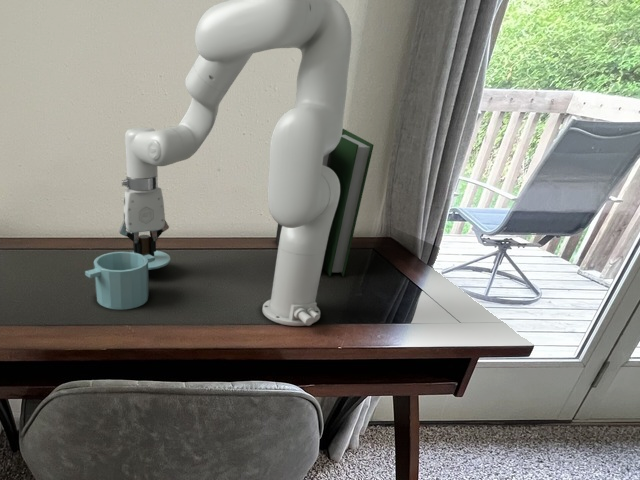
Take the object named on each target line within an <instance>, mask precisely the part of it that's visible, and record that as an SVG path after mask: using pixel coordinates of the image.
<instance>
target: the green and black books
mask: <svg viewBox="0 0 640 480" xmlns="http://www.w3.org/2000/svg"><path fill="white" fill-rule="evenodd" d="M373 150H374V143H371V142H369V141H367V140H366V139H364V138H362V137H360V136H358V135H357V134H354V133H352V132H350V131H349V130H347V129H345V128H343V129H342V136H341V139H340V142H339V143H338V145H337V146H336V148H335V149H334V150H333V151H332V152H330V153H329V154H327V155H325V156H324V157H323V164H322V165H324V166H327V167H329V168H330V169H332V170H333V171H334V172H335V174H336V175H337V177H338V179H339V183H340V196H339V201H338V205H337V208H336V211H335V214H334V218H333V221H332V224H331V228H330V232H329V237H328V242H327V246H326V250H325V255H324V260H323V265H322V269H324V271H325V272H326V273H327V275H328V276H329V277H332V274H333V273H339V274H341V276H342V277H345V273H346V270H347V269H346V268H347V265H348V259H349V256H350V252H351V247H352V242H353V238H354V233H355V229H356V225H357V220H358V216H359V212H360V208H361V203H362V198H363V194H364V190H365V185H366V181H367V176H368V171H369V167H370V163H371V158H372V154H373ZM281 229H282V226H281V225H280V224H278V223H277V227H276V236H275V243H276V245H277V247H278V246H279V240H280V234H281Z"/></svg>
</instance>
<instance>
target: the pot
mask: <svg viewBox="0 0 640 480" xmlns="http://www.w3.org/2000/svg"><path fill="white" fill-rule="evenodd" d="M152 261H155V257H154V256H152V255H145V256H143V255H141V254H138V253H133V251H114V252H113V251H112V252H108V253H103V254H101V255H99V256H97V257H96V258H95V259H94V261H93V269H88V270H84V275H85V276H86V277H87V278H89V279H93V278H94V286H95V297H96V302H97V303H98V304H99V305H100V306H102V307H104V308H107V309H110V310H119V311H120V310H121V311H122V310H131V309H136V308H139V307H141V306H143V305H144V304H146V303H147V302H148V300H149V295H150V294H149V293H150V292H149V270H148V263H149V262H152Z"/></svg>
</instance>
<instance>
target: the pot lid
mask: <svg viewBox="0 0 640 480" xmlns="http://www.w3.org/2000/svg"><path fill="white" fill-rule="evenodd" d="M138 240H139V242H140V245H141V255H143V256H145V255H150V234H139V239H138ZM132 252H133V253H134V250H133V251H132ZM154 257H155V261H152V262H149V263H148V271H149V270H157V269H160V268H163V267H165V266H168V265H169V264H170V263H171V256H170V254H168V253H166V252H164V251H160V250H156V252H154Z"/></svg>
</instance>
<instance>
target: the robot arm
mask: <svg viewBox="0 0 640 480" xmlns="http://www.w3.org/2000/svg"><path fill="white" fill-rule="evenodd" d="M194 42H195V47H196V51H197V53H198V54H199V55H198V57H197V58H196V60H195V61H194V63H193V65H192V66H191V68H190V70H189V71H188V73H187V75H186V77H185V79H184V83H185V84H184V85H185V89H186V91H187V92H188V94H189V95H190V96H191V101H190V104H189V107H188V109H187V110H186V113H185V114H184V116H183V117H182V119H181V120H180V122H179V123H178V124H177V125H176V126H172V127H166V128H163V129H154V128H152V127H147V126H146V127H145V126H144V127H143V126H140V127H132V128H128V129H127V130H126V132H125V135H124V142H125V143H124V144H125V163H126V164H125V165H126V176H125V179H124V180H121V187H126V189H125V190H124V197H123V209H122V212H123V213H122V214H123V215H122V217H123V219H122V220H123V221H122V222H121V225H120V227H119V230H118V233H119V234H120V235H122V236H124V237H126V238H128V239H129V240H130V241H132V245H133V248H132V249H133V251H134V253H138V254H141V245H140V242H139V236H140V233H146V232H149V236H150V255H152V256H154V252H156V251H157V241H158V238H160V236H161V235H162V234H163V233H164V232H166V231H167V230H169V228H170V226H169V224H168V222H167V221H166V213H165V203H164V197H163V191H162V188H161V187H159V176H158V175H159V174H158V173H159V172H158V167H167V166H169V165H174V164H175V163H179V162H182V161H185V160H186V161H187V160H188V159H190V158H191V157H192V156H194V155H195V154H196V153H197V151H199V149H200V147H201V146H202V145H203V143H204V142H205V140H206V139H207V137H208V136H209V134H210V133H211V131H212V129H213V128H214V126H215V124H216V119H217V116H218V113H219V106H220V104H221V103H222V100H223V99H224V97H225V96H226V95H227V93H228V92H229V90H230V88H232V85H233V84H234V82H235V81H236V79H237V78H238V76H239V75H240V73H241V72H242V71H243V69H244V67H245V66H246V64H247V63H248V61H249V60H250V59H251V57H252V56H253V54H256V53H260V52H264V51H269V50H275V49H298V50H300V51H301V59H300V64H299V67H298V71H297V77H296V93H295V102H294V107H293V108H291V109H289V110H287V111H286V112H284V114H282V115H281V117H280V118H279V119H278V121H277V122H276V124H275V126H274V129H273V132H272V134H271V138H270V145H269V161H268V180H267V205H268V206H267V207H268V210H269V214H270V215H271V217H272V219H273V221H275V222H276V223H277V225H278V224H280V225H281V226H282V229H281V234H280V240H279V246H278V245H277V254H276V261H275V267H274V275H273V282H272V289H271V295H270V299H268V300H266V301H264V302H263V304H262V309H261V310H262V314H263V315H264V316H265V318H267V319H268V320H270V321H272V322H273V323H277V324H279V325H284V326H288V327H289V326H291V327H305V326H309V327H310V326H311V325H312V324H314V323H316V322H318V321H319V320H320V318H321V310H320V308H319V307H318V306H317V304H318V303H317V302H316V299H317V295H318V289H319V285H320V279H321V276H322V275H321V274H322V270H323V266H322V265H323V260H324V255H325V250H326V246H327V242H328V237H329V232H330V228H331V224H332V221H333V218H334V214H335V211H336V208H337V205H338V201H339V196H340V183H339V179H338V177H337V175H336V174H335V172H334V171H333V170H332V169H330V168H329V167H327V166H324V165H322V164H323V157H324V156H325V155H327V154H329V153H330V152H332V151H333V150H334V149H335V148H336V146H337V145H338V143H339V142H340V139H341V136H342V129H344V128H343V127H344V117H345V108H346V100H347V90H348V76H349V69H350V60H351V53H352V52H351V51H352V26H351V22H350V18H349V16H348V13H347V11H346V10H345V8H344V7H343V5H342V4H341V3H340V2H339V1H338V0H225V1H222V2H219V3H217V4H214V5H212V6H211V7H209V8H208V9H207V10H206V11H205V12H204V13H203V14H202V16H201V17H200V18H199V20H198V22H197V25H196V27H195V33H194Z"/></svg>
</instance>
